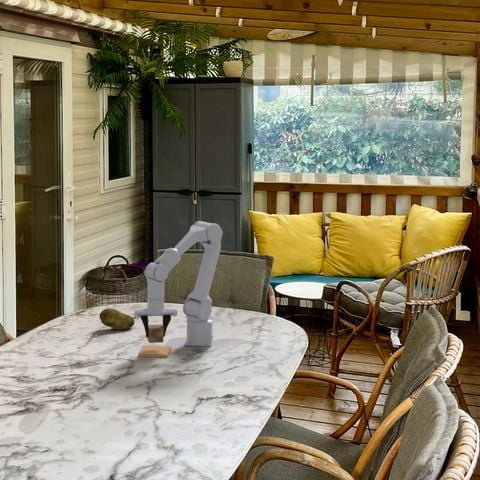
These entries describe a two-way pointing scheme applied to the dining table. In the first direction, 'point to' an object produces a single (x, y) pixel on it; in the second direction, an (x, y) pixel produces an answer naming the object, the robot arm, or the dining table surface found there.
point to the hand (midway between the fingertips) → (155, 336)
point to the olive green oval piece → (116, 319)
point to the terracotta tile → (155, 351)
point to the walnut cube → (155, 333)
